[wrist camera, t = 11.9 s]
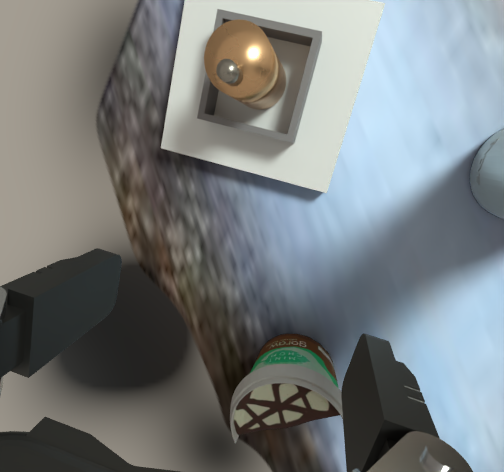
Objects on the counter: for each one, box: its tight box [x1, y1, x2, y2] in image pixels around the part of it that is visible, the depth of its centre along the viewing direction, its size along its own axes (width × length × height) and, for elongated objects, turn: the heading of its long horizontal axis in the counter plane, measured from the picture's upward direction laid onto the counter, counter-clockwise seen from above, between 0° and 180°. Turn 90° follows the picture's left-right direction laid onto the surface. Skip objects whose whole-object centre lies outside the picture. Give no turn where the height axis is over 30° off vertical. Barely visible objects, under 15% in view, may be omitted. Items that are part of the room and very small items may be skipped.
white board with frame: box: [161, 0, 385, 193], centre depth 33 cm, size 18×17×5 cm
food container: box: [230, 334, 343, 443], centre depth 38 cm, size 12×6×10 cm, turn 112°
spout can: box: [204, 19, 286, 110], centre depth 29 cm, size 5×5×11 cm
